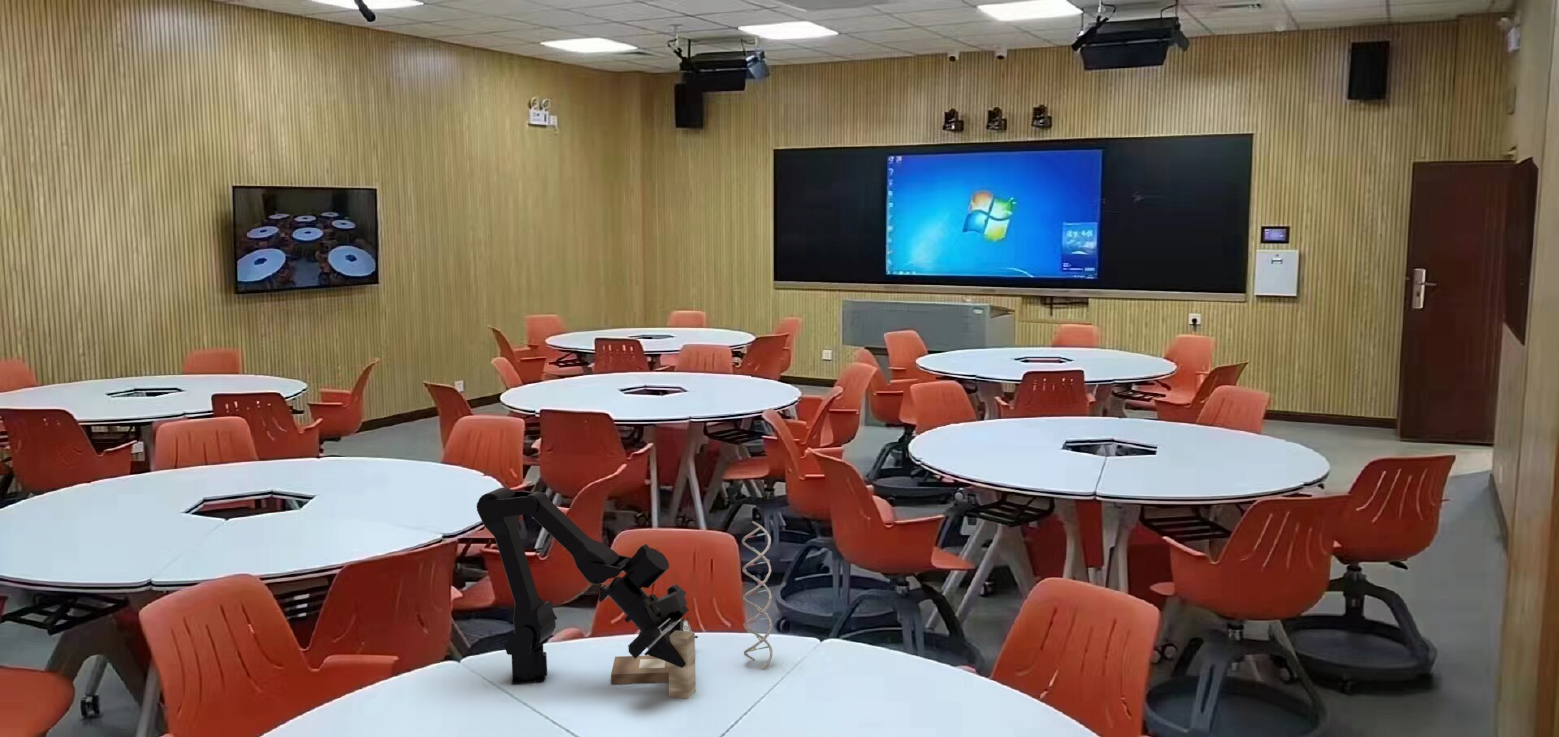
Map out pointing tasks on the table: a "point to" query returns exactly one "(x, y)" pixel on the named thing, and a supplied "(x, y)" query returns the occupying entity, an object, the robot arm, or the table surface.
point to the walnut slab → (639, 670)
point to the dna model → (761, 583)
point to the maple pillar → (684, 678)
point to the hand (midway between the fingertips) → (688, 661)
